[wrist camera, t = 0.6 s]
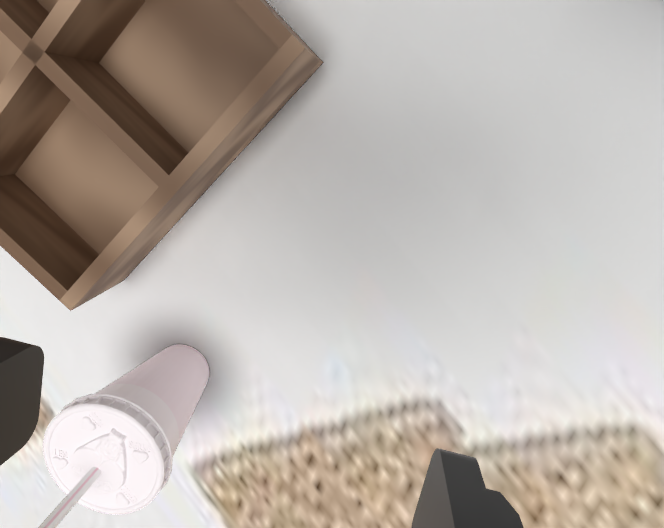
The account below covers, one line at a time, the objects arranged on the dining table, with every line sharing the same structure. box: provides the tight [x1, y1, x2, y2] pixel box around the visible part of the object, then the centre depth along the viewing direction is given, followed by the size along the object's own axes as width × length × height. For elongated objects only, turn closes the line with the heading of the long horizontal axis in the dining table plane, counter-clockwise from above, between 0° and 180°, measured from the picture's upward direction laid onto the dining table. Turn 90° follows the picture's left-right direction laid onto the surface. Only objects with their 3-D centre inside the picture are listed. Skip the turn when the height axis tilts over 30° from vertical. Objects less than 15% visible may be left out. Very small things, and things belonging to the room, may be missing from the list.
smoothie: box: [38, 344, 210, 528], centre depth 27 cm, size 6×6×14 cm
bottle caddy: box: [0, 0, 323, 311], centre depth 26 cm, size 18×18×6 cm
